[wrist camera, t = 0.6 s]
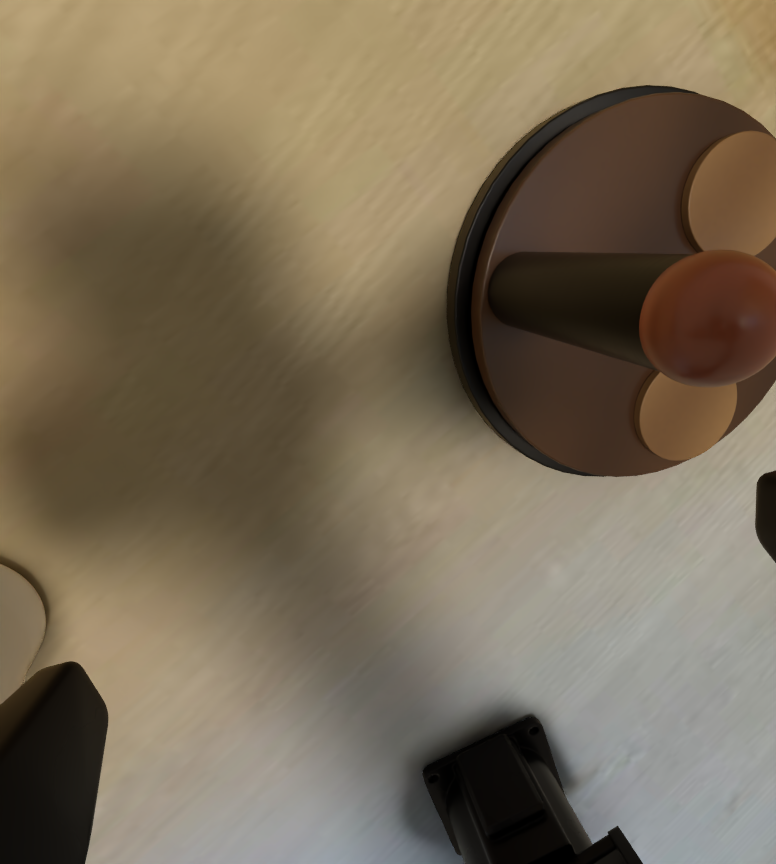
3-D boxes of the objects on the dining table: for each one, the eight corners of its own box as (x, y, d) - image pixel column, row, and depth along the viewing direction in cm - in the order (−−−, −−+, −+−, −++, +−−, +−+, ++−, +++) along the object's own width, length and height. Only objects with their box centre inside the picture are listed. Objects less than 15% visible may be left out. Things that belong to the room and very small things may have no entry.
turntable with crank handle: (837, 131, 22) (1363, 27, 12) (740, 471, 26) (1069, 621, 16) (501, 65, 19) (816, -162, 8) (447, 466, 23) (616, 654, 12)
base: (789, 394, 27) (808, 400, 26) (501, 520, 26) (511, 530, 25) (759, 37, 22) (781, 28, 21) (394, 169, 20) (401, 165, 20)
